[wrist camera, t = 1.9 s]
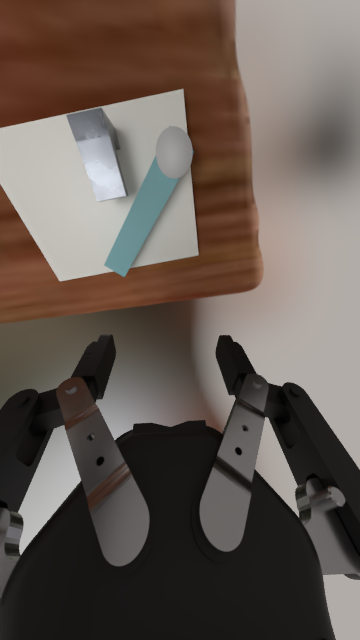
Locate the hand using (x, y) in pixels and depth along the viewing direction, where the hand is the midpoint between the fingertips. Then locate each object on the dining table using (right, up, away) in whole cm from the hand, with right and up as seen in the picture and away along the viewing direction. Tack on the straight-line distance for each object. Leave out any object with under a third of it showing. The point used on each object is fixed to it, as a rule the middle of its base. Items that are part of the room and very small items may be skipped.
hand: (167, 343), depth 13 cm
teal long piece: (-4, +16, +9) cm, 18 cm away
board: (-8, +17, +10) cm, 21 cm away
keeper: (-7, +19, +7) cm, 22 cm away
